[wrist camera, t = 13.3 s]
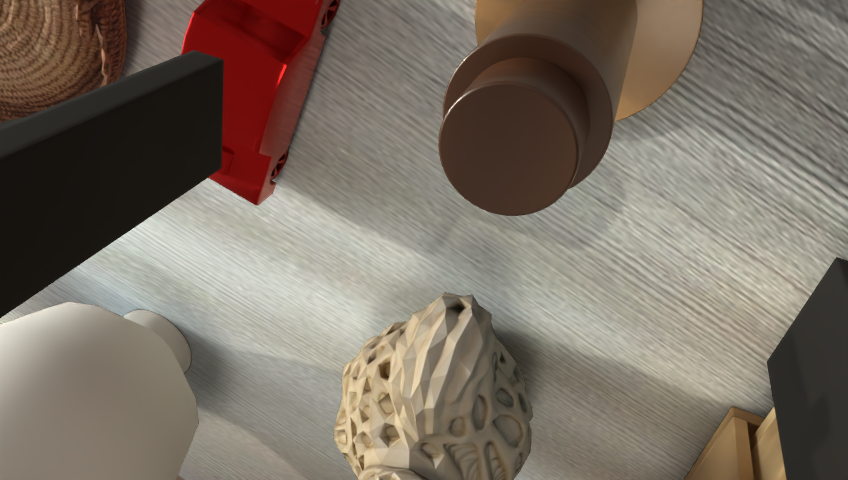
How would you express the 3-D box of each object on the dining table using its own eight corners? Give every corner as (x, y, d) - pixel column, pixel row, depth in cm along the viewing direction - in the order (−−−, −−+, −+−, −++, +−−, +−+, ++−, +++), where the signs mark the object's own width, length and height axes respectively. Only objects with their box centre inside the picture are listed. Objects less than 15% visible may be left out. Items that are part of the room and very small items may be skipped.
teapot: (411, 198, 38) (281, 366, 25) (604, 274, 36) (566, 491, 24) (348, 434, 50) (239, 626, 37) (491, 498, 48) (426, 721, 36)
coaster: (745, -74, 26) (746, -72, 26) (651, 148, 32) (650, 153, 31) (508, -131, 28) (505, -131, 28) (457, 89, 34) (454, 92, 33)
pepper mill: (654, -21, 28) (635, 90, 15) (615, 86, 30) (569, 261, 17) (545, -50, 29) (435, 31, 16) (516, 57, 31) (401, 203, 18)
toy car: (261, -84, 33) (202, -75, 28) (358, -30, 32) (312, -14, 28) (205, 144, 41) (152, 176, 36) (282, 189, 40) (238, 226, 36)
